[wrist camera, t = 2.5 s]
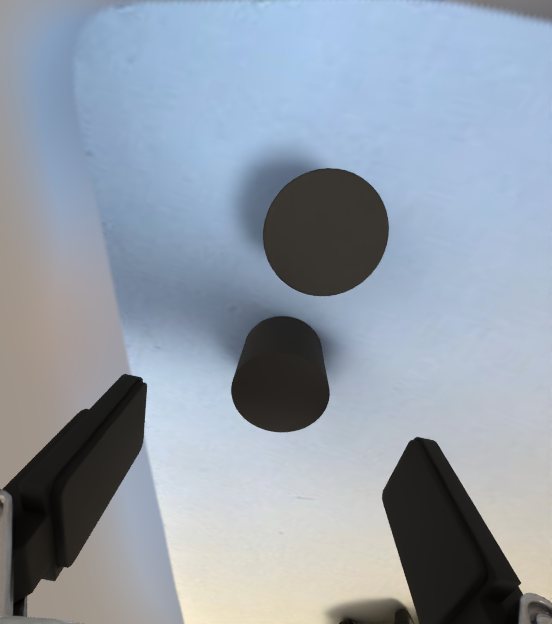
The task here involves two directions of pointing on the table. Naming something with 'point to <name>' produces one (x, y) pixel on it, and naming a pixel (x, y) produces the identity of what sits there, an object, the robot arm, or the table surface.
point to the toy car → (401, 618)
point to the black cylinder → (325, 232)
